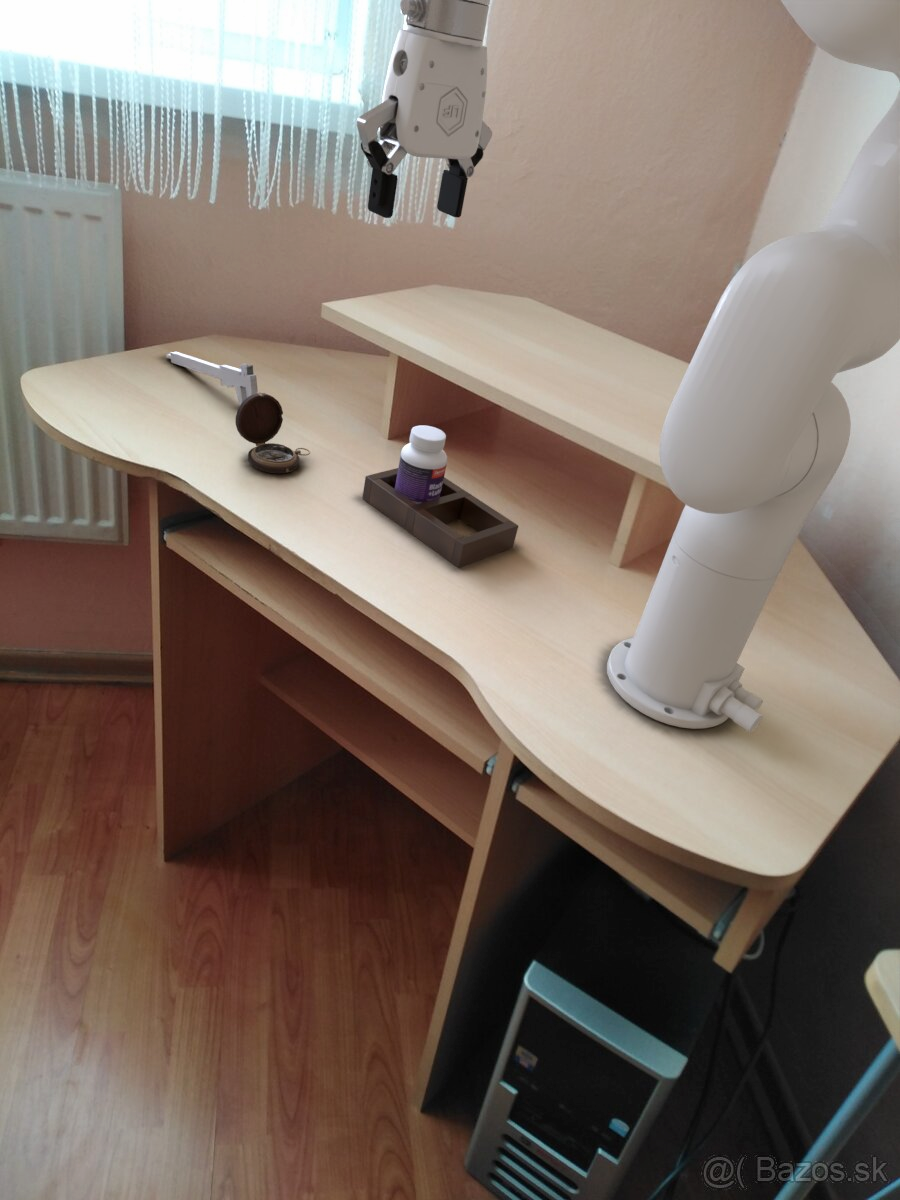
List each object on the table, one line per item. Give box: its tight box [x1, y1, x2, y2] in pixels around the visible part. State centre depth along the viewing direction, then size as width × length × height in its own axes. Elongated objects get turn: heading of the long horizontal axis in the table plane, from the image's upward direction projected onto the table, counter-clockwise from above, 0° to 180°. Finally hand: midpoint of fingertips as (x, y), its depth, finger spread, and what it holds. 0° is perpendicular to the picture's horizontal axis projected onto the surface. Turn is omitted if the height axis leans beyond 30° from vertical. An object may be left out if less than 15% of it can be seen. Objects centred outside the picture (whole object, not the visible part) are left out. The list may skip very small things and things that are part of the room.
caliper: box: [165, 351, 259, 406], centre depth 121 cm, size 20×1×6 cm, turn 47°
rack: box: [362, 467, 519, 569], centre depth 103 cm, size 17×9×3 cm, turn 44°
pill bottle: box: [395, 424, 448, 504], centre depth 103 cm, size 5×5×10 cm
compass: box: [235, 391, 311, 474], centre depth 107 cm, size 8×8×7 cm
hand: (415, 214), depth 92 cm, fingers open, 9 cm apart
